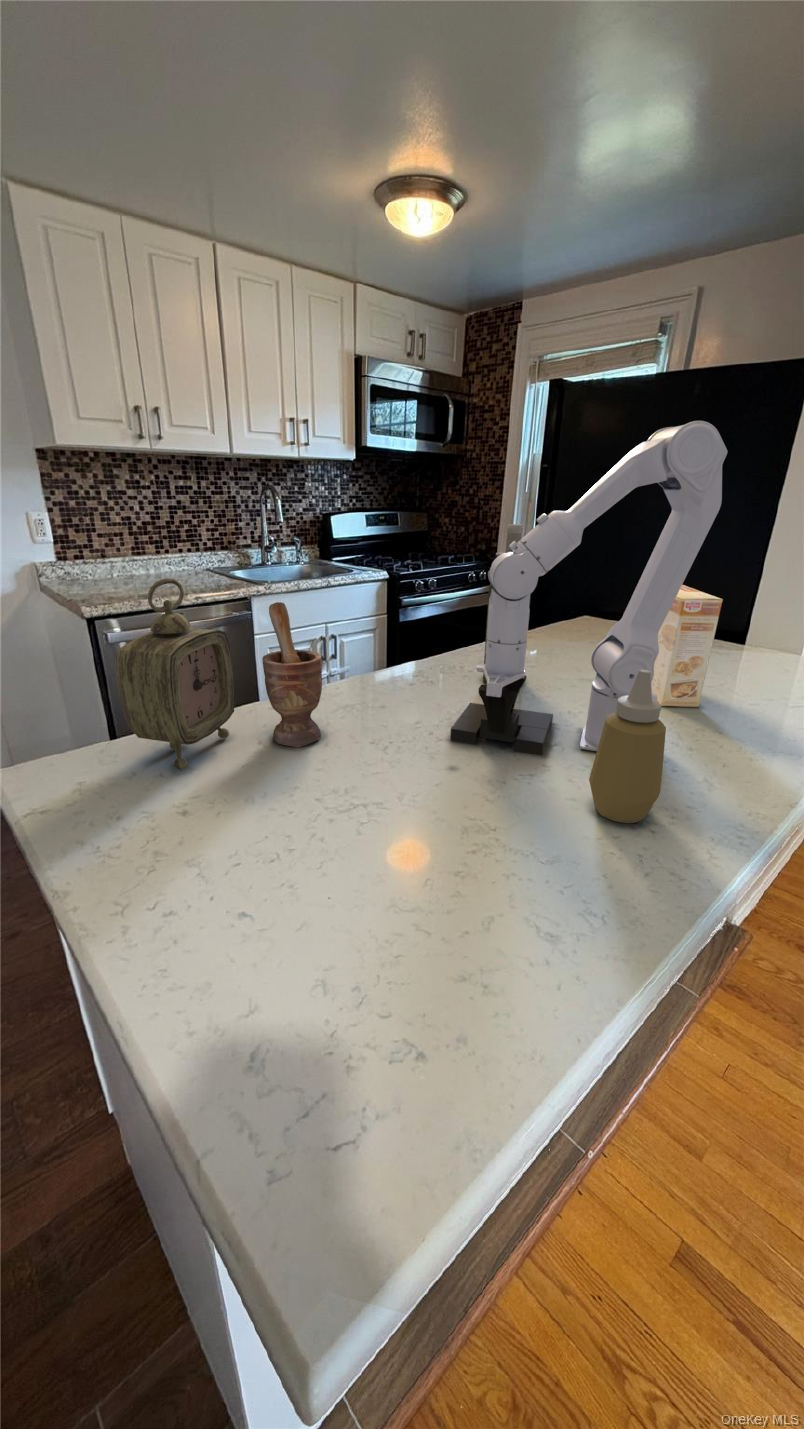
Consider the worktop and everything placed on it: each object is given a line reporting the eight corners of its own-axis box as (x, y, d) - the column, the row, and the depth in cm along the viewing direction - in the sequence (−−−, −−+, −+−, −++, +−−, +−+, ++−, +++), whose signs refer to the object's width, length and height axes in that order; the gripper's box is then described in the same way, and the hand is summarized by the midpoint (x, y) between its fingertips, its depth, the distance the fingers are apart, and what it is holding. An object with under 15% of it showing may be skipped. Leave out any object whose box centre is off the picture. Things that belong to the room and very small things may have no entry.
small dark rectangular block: (517, 731, 88) (519, 713, 87) (512, 742, 85) (514, 723, 83) (486, 726, 90) (487, 708, 89) (479, 737, 86) (480, 719, 85)
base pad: (551, 725, 94) (553, 714, 93) (541, 755, 83) (543, 743, 82) (469, 713, 98) (470, 702, 97) (450, 740, 88) (450, 728, 87)
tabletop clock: (184, 778, 76) (154, 590, 66) (127, 769, 78) (90, 585, 69) (240, 735, 89) (222, 572, 79) (190, 728, 91) (167, 569, 81)
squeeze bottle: (652, 800, 72) (681, 664, 65) (657, 835, 65) (689, 687, 58) (586, 789, 74) (606, 657, 67) (583, 822, 67) (605, 678, 60)
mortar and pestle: (247, 731, 90) (234, 606, 83) (292, 716, 96) (283, 598, 88) (291, 754, 83) (281, 619, 75) (336, 736, 89) (331, 609, 81)
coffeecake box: (700, 707, 102) (725, 598, 94) (660, 706, 102) (682, 598, 94) (665, 680, 115) (684, 583, 108) (630, 679, 116) (647, 583, 108)
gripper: (490, 625, 89) (484, 705, 94) (467, 649, 77) (462, 740, 82) (535, 629, 87) (527, 711, 92) (519, 654, 74) (510, 747, 80)
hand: (499, 725), depth 87 cm, fingers closed on small dark rectangular block, 4 cm apart
